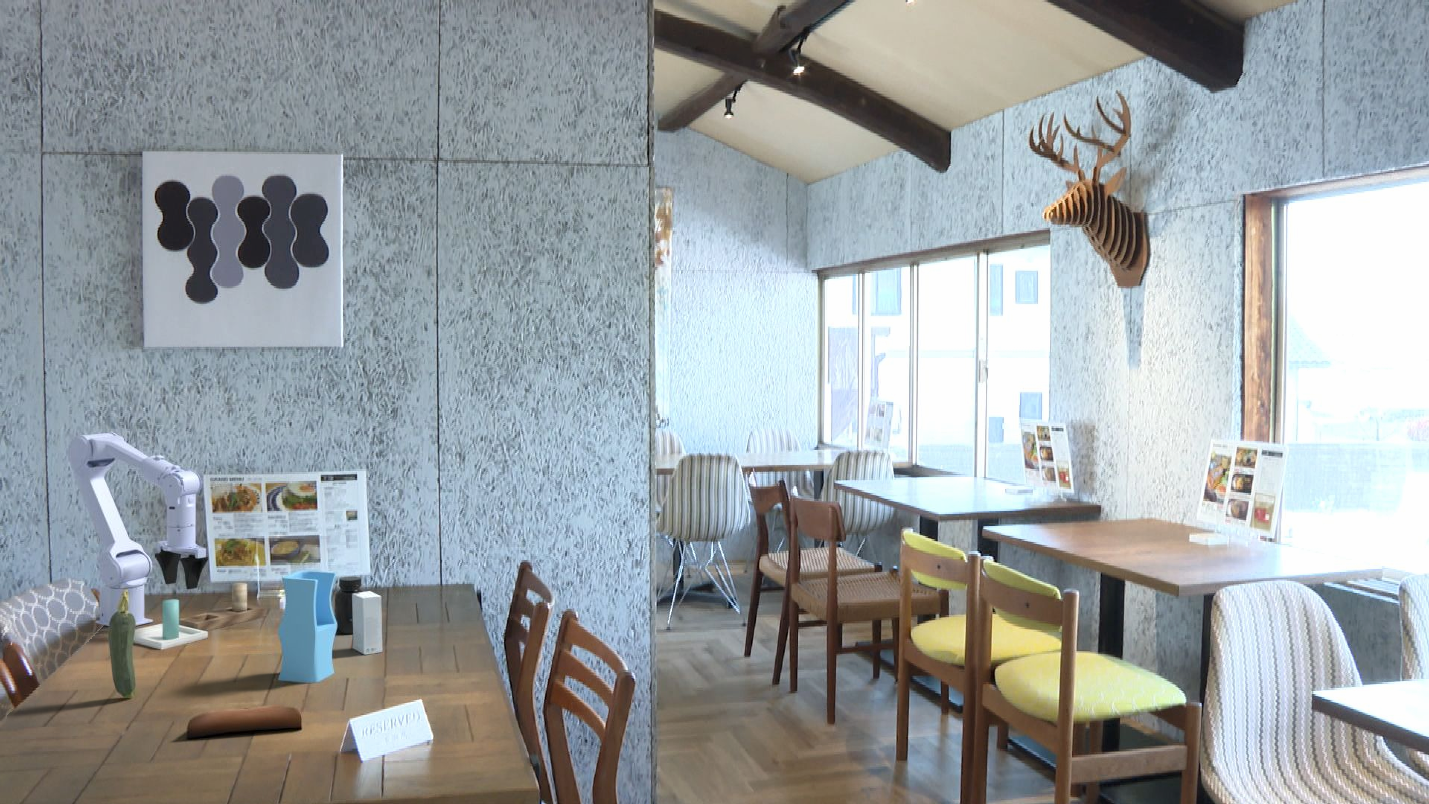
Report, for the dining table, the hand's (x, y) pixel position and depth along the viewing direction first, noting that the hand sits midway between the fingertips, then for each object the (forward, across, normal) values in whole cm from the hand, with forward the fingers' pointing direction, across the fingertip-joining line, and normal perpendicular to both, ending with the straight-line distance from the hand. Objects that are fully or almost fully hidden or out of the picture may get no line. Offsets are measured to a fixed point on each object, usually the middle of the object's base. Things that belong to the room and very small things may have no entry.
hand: (181, 586), depth 252 cm
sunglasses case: (+10, +64, -31) cm, 72 cm away
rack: (+10, +1, +10) cm, 14 cm away
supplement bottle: (+10, +30, +22) cm, 38 cm away
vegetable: (+10, +34, -34) cm, 49 cm away
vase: (+10, +49, -6) cm, 50 cm away
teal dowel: (+10, +5, -6) cm, 12 cm away
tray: (+10, +3, -6) cm, 12 cm away
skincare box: (+10, +45, +13) cm, 48 cm away
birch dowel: (+10, +1, +14) cm, 18 cm away
